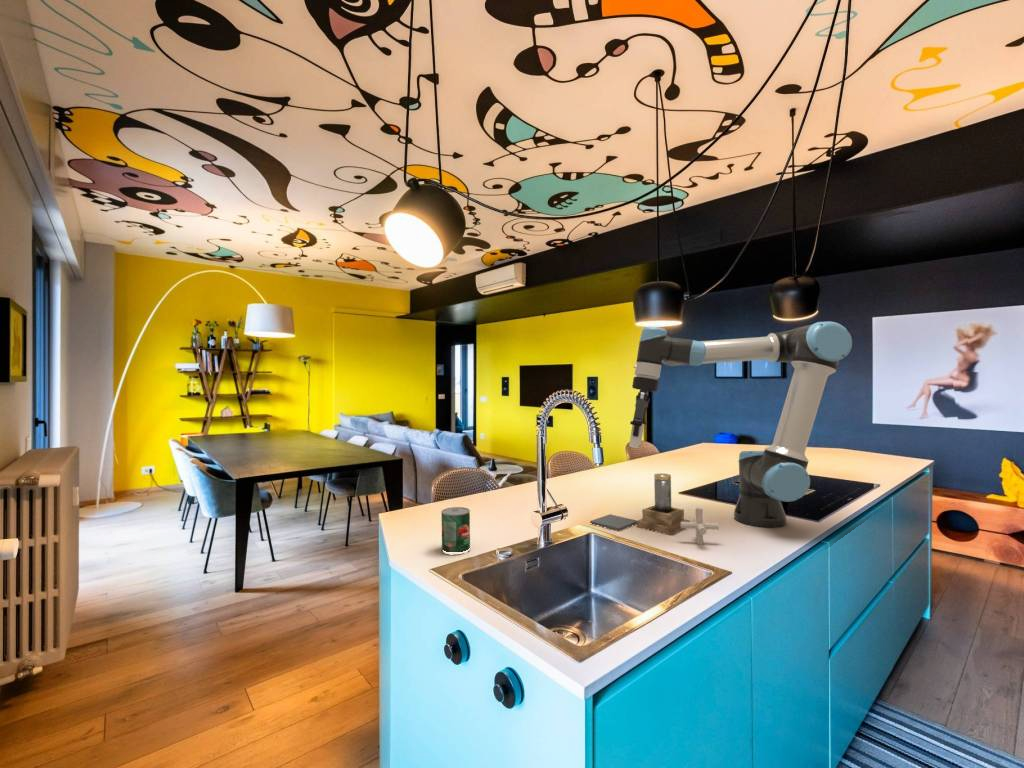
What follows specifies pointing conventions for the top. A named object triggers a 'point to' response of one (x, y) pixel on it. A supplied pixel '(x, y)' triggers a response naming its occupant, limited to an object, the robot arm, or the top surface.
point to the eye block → (662, 520)
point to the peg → (662, 492)
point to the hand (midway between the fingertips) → (635, 445)
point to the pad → (614, 522)
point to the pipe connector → (699, 525)
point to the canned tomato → (455, 529)
